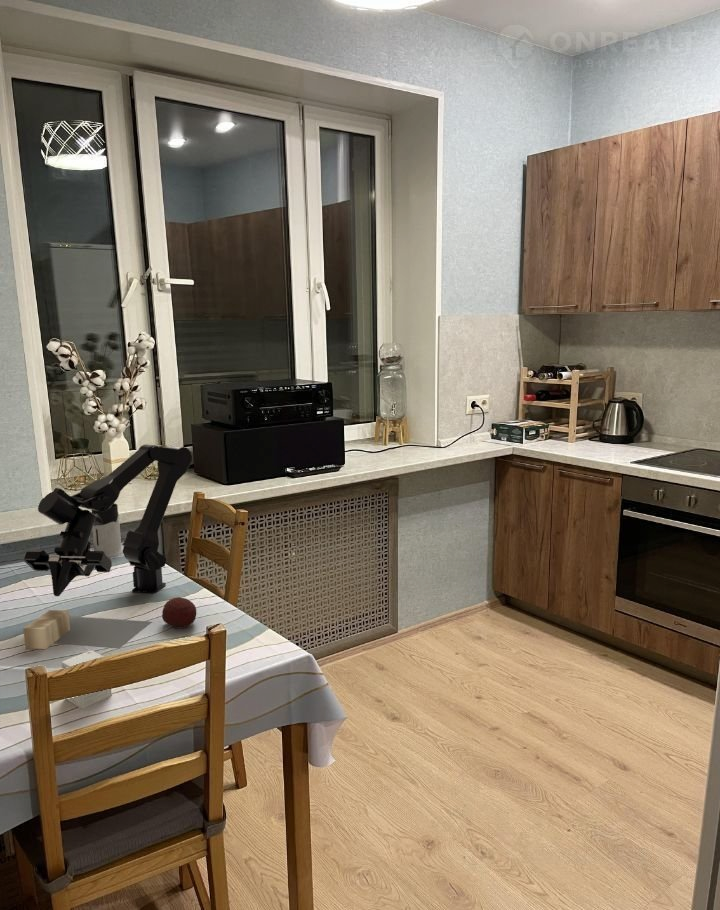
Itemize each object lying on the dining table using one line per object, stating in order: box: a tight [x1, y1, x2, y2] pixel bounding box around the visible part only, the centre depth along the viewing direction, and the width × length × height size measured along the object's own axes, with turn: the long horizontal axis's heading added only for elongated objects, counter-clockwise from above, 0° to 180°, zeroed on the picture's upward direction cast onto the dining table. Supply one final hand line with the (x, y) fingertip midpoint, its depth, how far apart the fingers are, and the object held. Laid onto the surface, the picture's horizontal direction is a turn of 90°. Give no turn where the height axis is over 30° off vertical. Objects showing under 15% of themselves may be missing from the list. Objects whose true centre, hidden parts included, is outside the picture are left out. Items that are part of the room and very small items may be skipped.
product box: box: [61, 650, 113, 709], centre depth 125 cm, size 6×6×7 cm
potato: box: [161, 596, 197, 629], centre depth 156 cm, size 7×10×6 cm
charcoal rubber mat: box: [53, 615, 152, 649], centre depth 153 cm, size 22×14×1 cm, turn 79°
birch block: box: [22, 609, 71, 650], centre depth 149 cm, size 4×4×10 cm
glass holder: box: [90, 502, 124, 558], centre depth 210 cm, size 9×14×15 cm, turn 131°
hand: (56, 595), depth 153 cm, fingers closed
